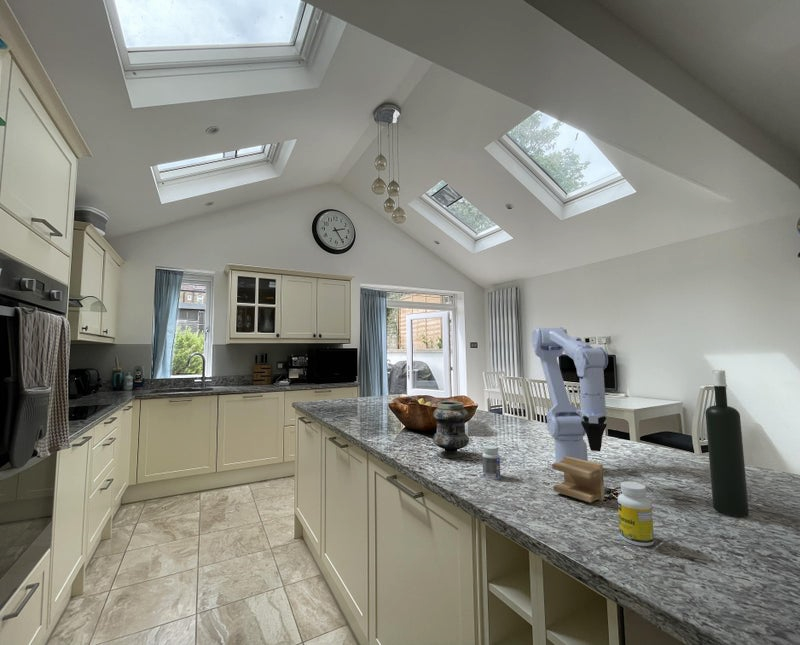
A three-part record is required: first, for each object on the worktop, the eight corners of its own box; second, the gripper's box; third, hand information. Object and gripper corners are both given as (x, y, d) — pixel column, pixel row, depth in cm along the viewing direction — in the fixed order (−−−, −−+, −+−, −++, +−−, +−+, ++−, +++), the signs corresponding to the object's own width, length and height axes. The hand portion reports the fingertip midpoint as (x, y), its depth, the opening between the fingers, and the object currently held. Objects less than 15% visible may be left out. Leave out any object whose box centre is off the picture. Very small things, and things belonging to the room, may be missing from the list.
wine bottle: (752, 518, 76) (738, 371, 78) (715, 512, 79) (704, 370, 81) (745, 508, 81) (732, 369, 83) (711, 503, 84) (700, 369, 86)
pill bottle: (501, 480, 100) (499, 449, 101) (483, 480, 101) (482, 448, 102) (499, 475, 105) (498, 444, 106) (482, 474, 106) (481, 444, 107)
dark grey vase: (472, 461, 118) (470, 404, 120) (434, 462, 118) (433, 405, 120) (466, 451, 130) (464, 399, 132) (432, 452, 131) (431, 400, 132)
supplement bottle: (613, 533, 71) (609, 480, 72) (639, 531, 71) (636, 479, 72) (633, 548, 65) (629, 490, 66) (662, 546, 66) (658, 489, 67)
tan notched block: (553, 494, 90) (568, 488, 94) (590, 506, 83) (604, 499, 87) (552, 460, 91) (566, 456, 95) (588, 469, 84) (602, 464, 88)
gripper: (577, 390, 105) (579, 439, 104) (574, 396, 92) (577, 452, 91) (605, 391, 102) (608, 442, 101) (606, 397, 89) (609, 455, 88)
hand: (595, 447), depth 96 cm, fingers open, 7 cm apart
